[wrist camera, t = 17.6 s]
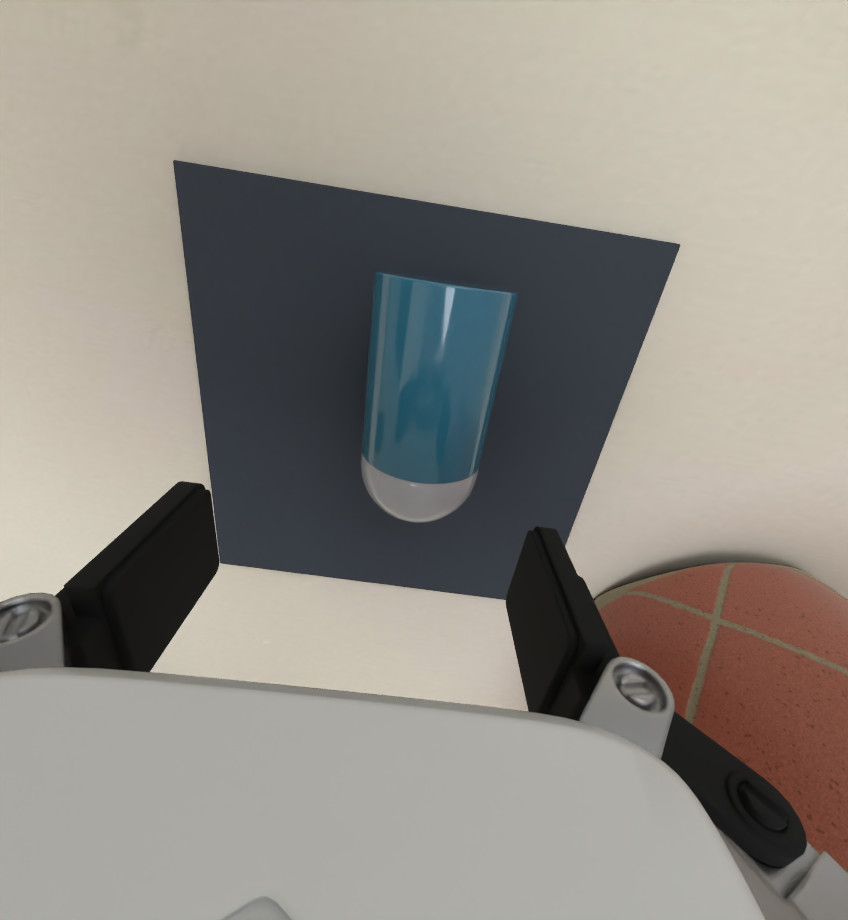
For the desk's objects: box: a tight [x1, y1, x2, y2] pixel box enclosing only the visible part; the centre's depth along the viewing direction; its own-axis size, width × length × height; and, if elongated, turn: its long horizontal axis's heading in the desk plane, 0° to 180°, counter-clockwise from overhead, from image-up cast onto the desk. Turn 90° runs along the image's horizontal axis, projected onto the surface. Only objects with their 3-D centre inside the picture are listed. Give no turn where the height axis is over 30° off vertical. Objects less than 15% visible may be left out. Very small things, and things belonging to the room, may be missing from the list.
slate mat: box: [173, 160, 680, 600], centre depth 20 cm, size 20×20×1 cm
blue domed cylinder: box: [361, 270, 518, 523], centre depth 16 cm, size 10×5×5 cm, turn 172°
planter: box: [594, 562, 848, 873], centre depth 18 cm, size 19×19×20 cm
